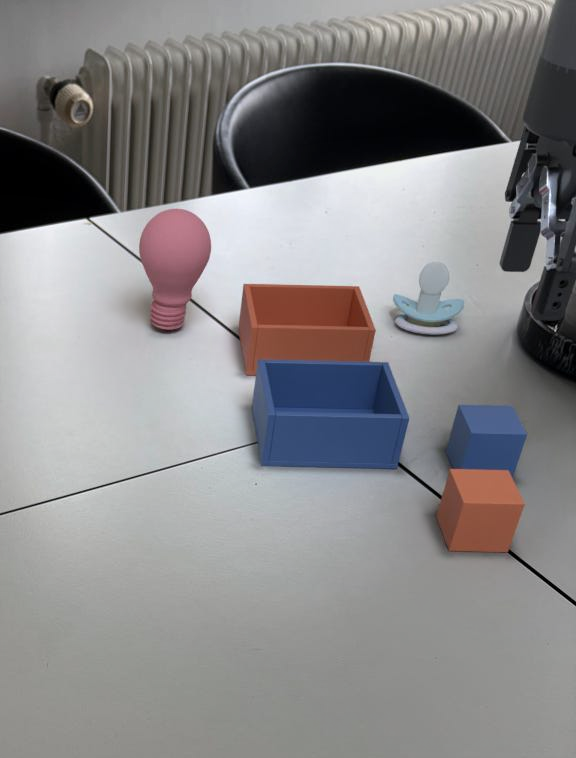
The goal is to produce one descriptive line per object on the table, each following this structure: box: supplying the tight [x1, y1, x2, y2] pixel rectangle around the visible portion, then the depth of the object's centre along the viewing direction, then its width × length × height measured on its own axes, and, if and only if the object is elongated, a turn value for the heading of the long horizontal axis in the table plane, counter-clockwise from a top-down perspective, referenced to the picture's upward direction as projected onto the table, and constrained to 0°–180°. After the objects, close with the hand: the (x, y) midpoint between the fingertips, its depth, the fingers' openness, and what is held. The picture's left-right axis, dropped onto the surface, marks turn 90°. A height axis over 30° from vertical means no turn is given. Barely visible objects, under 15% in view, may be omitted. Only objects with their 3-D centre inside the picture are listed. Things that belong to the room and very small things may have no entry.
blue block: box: [445, 404, 528, 479], centre depth 88 cm, size 5×5×5 cm
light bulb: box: [138, 208, 212, 331], centre depth 105 cm, size 7×7×12 cm
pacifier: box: [392, 261, 466, 336], centre depth 108 cm, size 7×6×6 cm
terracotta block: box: [435, 468, 526, 553], centre depth 81 cm, size 5×5×5 cm
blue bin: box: [251, 359, 410, 470], centre depth 91 cm, size 12×10×5 cm
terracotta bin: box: [237, 283, 377, 376], centre depth 103 cm, size 12×10×5 cm
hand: (528, 293), depth 79 cm, fingers open, 8 cm apart
